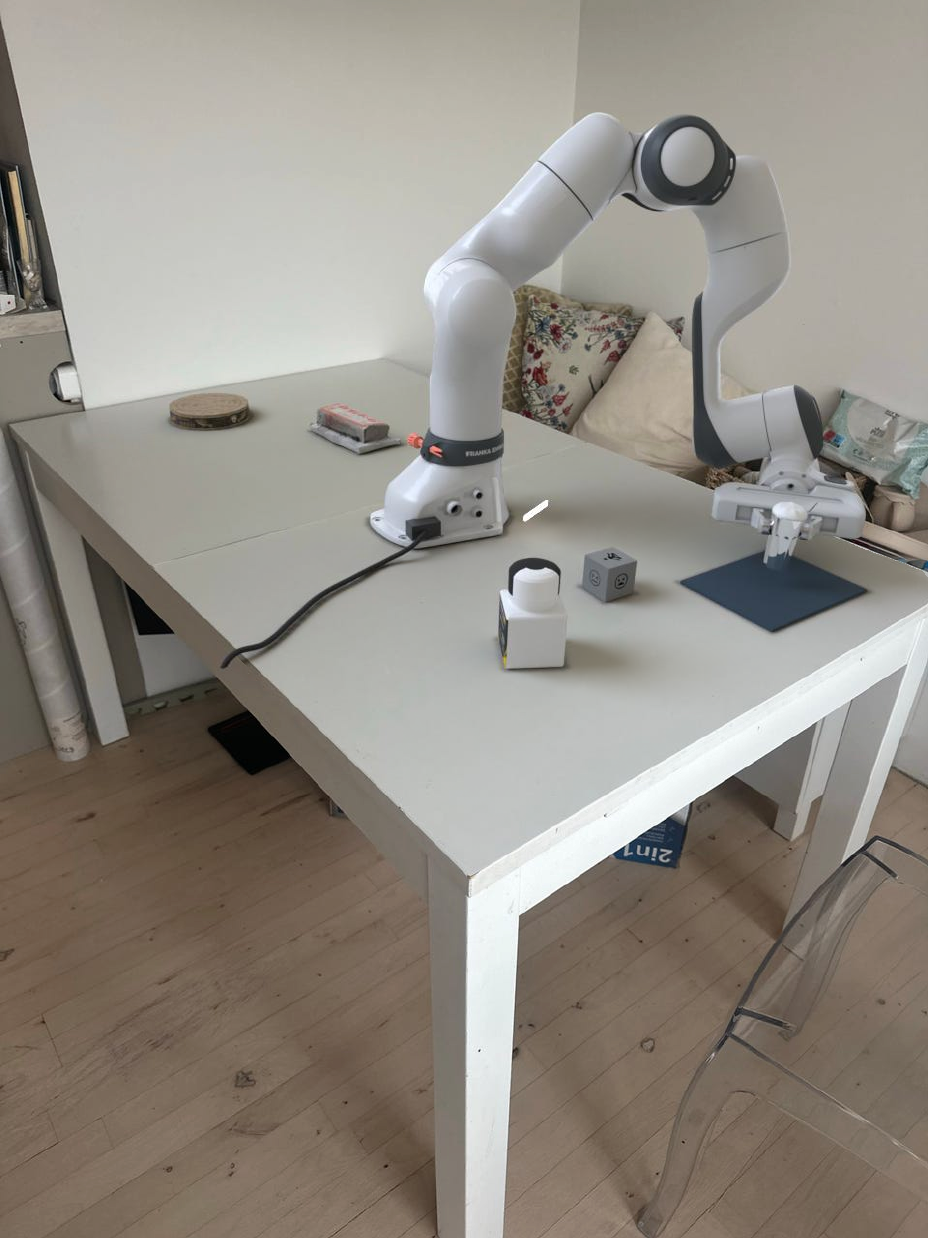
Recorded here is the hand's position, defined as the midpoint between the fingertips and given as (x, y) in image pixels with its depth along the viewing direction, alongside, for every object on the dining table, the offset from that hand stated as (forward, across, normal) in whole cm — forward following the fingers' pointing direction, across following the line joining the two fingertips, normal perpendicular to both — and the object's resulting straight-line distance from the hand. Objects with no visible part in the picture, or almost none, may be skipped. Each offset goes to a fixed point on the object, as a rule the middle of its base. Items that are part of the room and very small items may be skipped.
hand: (785, 532), depth 122 cm
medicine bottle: (+27, -28, +9) cm, 40 cm away
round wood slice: (-39, -114, +9) cm, 121 cm away
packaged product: (-38, -81, +9) cm, 90 cm away
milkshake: (-1, 0, +6) cm, 6 cm away
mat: (-1, 0, +9) cm, 9 cm away
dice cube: (+8, -22, +9) cm, 25 cm away
